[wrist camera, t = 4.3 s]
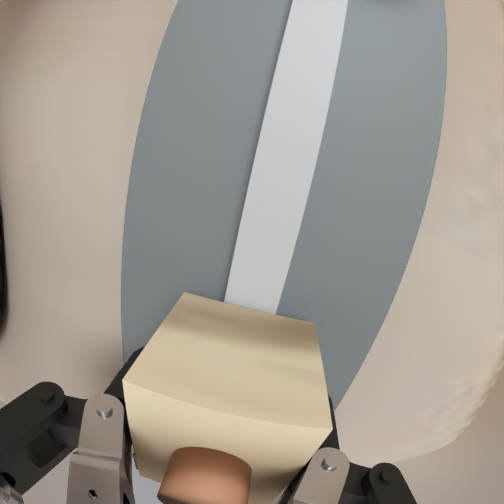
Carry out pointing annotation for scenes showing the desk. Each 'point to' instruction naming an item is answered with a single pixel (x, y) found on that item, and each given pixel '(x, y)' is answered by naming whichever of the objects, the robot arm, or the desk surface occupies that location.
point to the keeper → (226, 403)
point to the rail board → (285, 165)
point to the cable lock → (1, 281)
